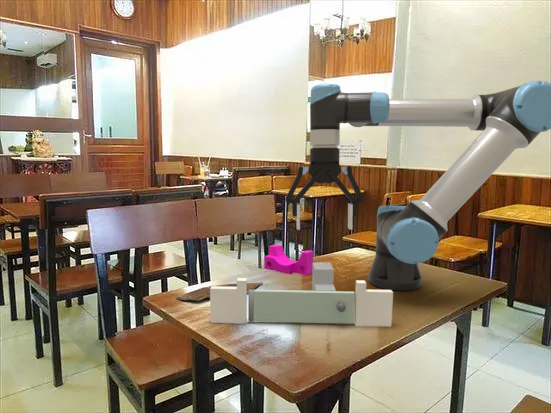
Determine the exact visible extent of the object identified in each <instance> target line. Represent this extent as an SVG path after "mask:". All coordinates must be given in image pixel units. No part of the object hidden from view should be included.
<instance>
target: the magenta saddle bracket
mask: <svg viewBox="0 0 551 413" xmlns="http://www.w3.org/2000/svg"><path fill="white" fill-rule="evenodd" d="M283 247H284V246H283V245H282V244H277V243H275V244H272V245H269V246H268V254H267V255H264V257H263V260H264V261H263V269H264V270H268V271H273V270H275V271H274V272H277V271H278V272H277V273H283V274H287V275H291V274H294V273H295V274H299V275H304V276H307V275H308V276H309V275H310V274H312V268H313V262H314V251H313V250H309V249H307V250H304V251H301V254H300V256H299V259H298V260H297V261H296V260H293V259H290V258H289V257H288V256H287V255H286V253H285V252H284V248H283Z"/></svg>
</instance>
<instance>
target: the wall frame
mask: <svg viewBox="0 0 551 413" xmlns="http://www.w3.org/2000/svg"><path fill="white" fill-rule="evenodd" d="M247 279H248V278H247V277H237V280H236V284H237V287H222V286H217V285H210V286H211V288H210V297H209V299H210V300H209V302H210V304H209V305H210V323H211V324H237V325H239V324H240V325H242V324H243V325H246V324H247V318H248V316H247V314H248V307H247V305H248V303H247V302H248V301H247V299H248V296H247V295H248V294H247V292H248V291H247V283H248V280H247ZM393 291H394V290H390V289H372V288H371V289H367V282H366V280H362V279H361V280H358V279H356V280H355V291H354V293H355V300H354V323H353V324H354V326H355V327H364V328H365V327H392V321H393V305H394V304H393V303H394V302H393V301H394V292H393Z"/></svg>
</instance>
